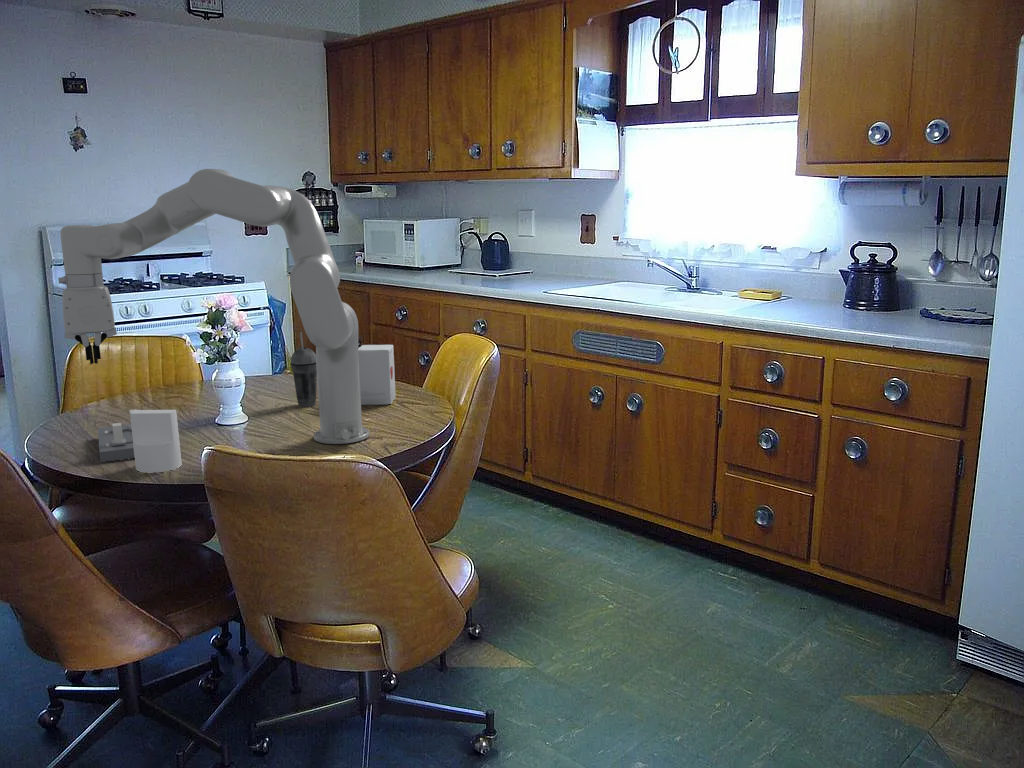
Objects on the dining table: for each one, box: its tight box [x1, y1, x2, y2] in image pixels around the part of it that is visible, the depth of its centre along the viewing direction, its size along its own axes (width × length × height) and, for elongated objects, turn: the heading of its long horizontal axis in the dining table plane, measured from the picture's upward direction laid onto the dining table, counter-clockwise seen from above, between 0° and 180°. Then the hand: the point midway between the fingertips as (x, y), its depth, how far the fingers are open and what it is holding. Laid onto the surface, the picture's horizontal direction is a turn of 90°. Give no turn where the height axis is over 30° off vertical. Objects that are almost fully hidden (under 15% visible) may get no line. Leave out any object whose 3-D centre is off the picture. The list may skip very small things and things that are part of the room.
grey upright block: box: [129, 409, 183, 473], centre depth 186 cm, size 9×9×12 cm
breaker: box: [111, 422, 126, 446], centre depth 195 cm, size 4×3×4 cm
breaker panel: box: [97, 424, 135, 463], centre depth 203 cm, size 22×16×2 cm
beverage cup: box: [289, 331, 317, 408], centre depth 237 cm, size 7×7×20 cm
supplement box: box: [358, 344, 396, 406], centre depth 240 cm, size 9×9×15 cm
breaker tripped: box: [128, 408, 139, 431], centre depth 208 cm, size 4×3×4 cm
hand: (94, 362), depth 202 cm, fingers closed
